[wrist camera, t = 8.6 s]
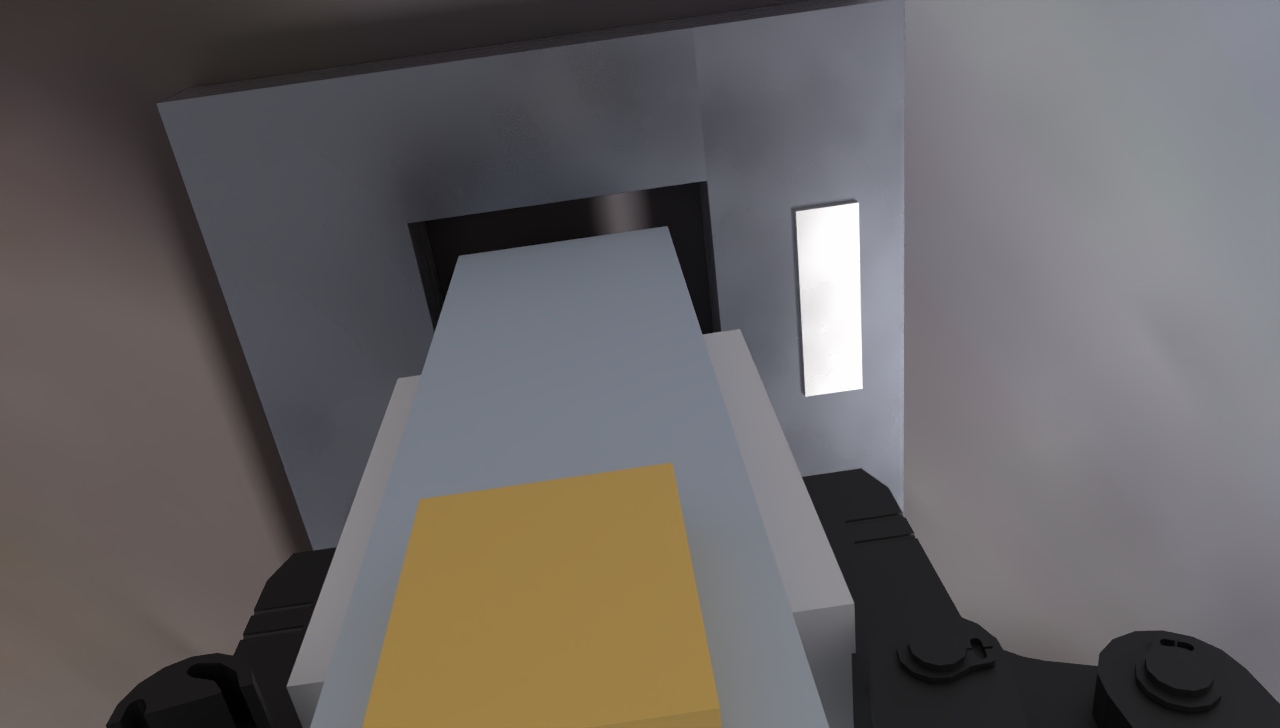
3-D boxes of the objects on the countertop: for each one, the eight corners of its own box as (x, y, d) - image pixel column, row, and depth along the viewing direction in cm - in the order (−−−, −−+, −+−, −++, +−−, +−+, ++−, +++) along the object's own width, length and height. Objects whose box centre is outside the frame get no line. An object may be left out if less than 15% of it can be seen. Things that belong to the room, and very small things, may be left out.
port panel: (884, 790, 27) (903, 842, 26) (446, 855, 27) (438, 911, 26) (877, -10, 17) (906, -2, 16) (190, 87, 17) (153, 104, 16)
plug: (499, 435, 19) (373, 1405, 7) (449, 215, 17) (133, 1031, 5) (688, 408, 19) (914, 1321, 7) (663, 185, 17) (919, 912, 5)
